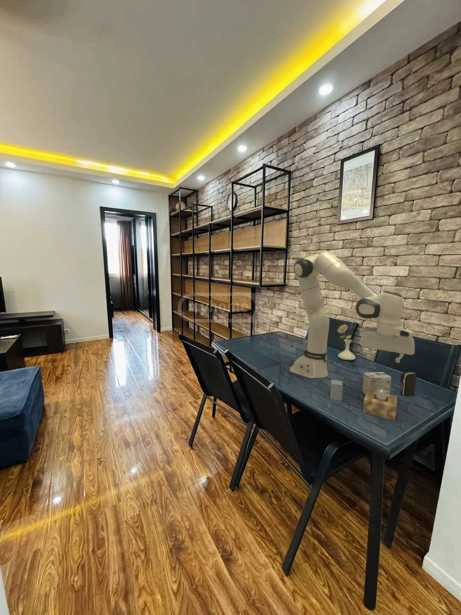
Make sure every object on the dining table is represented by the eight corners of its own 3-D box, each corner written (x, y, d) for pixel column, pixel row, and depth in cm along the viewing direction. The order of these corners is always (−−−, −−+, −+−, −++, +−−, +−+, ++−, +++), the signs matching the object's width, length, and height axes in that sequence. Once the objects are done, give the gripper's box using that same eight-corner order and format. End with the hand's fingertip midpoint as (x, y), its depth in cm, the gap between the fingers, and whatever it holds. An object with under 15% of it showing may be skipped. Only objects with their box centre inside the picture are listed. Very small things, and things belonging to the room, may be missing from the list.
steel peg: (374, 410, 115) (376, 389, 113) (375, 407, 118) (377, 386, 117) (384, 413, 112) (386, 392, 111) (385, 409, 116) (387, 388, 114)
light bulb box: (381, 391, 134) (383, 371, 132) (390, 397, 127) (392, 377, 125) (361, 391, 133) (363, 371, 132) (369, 397, 127) (370, 377, 125)
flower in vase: (351, 356, 188) (354, 323, 185) (357, 362, 177) (360, 326, 173) (333, 355, 189) (335, 322, 186) (338, 361, 178) (340, 326, 175)
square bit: (330, 399, 125) (331, 383, 124) (330, 394, 130) (331, 379, 129) (341, 400, 124) (342, 385, 122) (340, 396, 128) (341, 381, 127)
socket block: (363, 412, 114) (364, 399, 113) (366, 400, 124) (367, 389, 123) (395, 420, 107) (396, 407, 106) (395, 408, 117) (397, 396, 116)
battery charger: (408, 391, 134) (410, 370, 132) (415, 394, 130) (417, 373, 129) (397, 392, 132) (399, 371, 130) (404, 396, 128) (406, 374, 127)
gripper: (360, 327, 113) (357, 357, 115) (417, 334, 102) (412, 367, 104) (362, 324, 118) (359, 353, 120) (416, 331, 107) (412, 363, 109)
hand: (384, 360), depth 112 cm, fingers open, 8 cm apart
